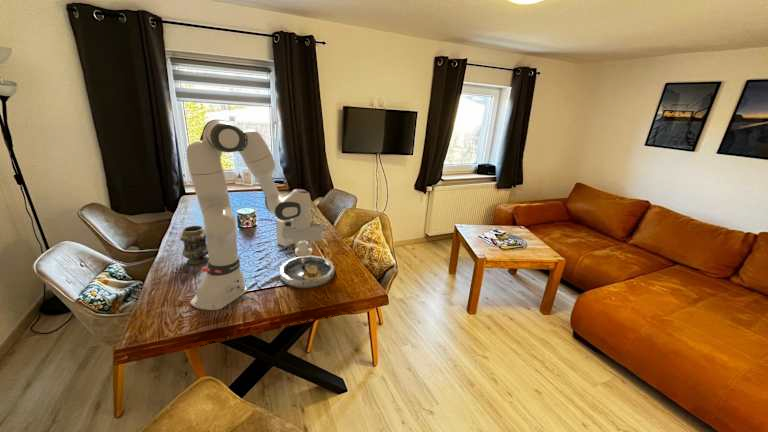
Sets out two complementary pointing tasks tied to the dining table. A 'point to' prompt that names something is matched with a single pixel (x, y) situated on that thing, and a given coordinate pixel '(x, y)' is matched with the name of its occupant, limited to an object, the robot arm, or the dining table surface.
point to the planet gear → (303, 249)
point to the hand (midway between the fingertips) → (303, 247)
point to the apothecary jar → (194, 245)
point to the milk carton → (279, 234)
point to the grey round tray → (306, 271)
